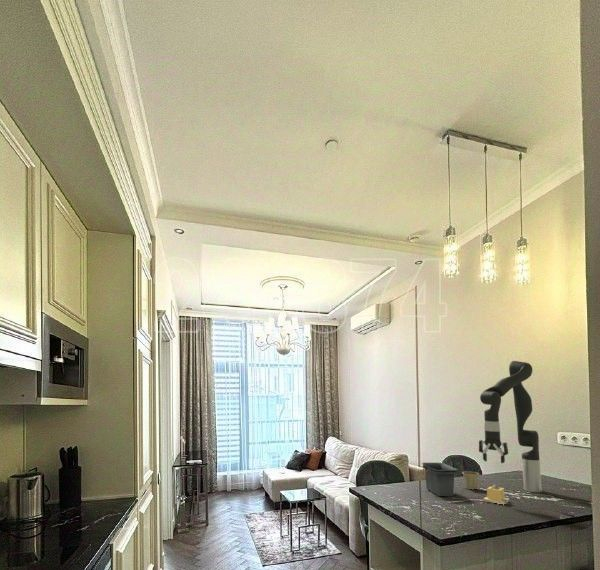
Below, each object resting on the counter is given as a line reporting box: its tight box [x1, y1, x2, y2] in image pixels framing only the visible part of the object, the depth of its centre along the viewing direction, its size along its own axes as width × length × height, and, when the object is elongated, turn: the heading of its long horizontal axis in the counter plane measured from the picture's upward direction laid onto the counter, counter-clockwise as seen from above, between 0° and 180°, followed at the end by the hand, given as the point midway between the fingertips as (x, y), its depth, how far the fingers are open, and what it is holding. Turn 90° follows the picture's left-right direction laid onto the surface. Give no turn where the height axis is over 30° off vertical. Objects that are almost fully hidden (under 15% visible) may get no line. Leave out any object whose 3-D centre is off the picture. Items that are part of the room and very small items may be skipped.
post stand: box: [482, 484, 510, 506], centre depth 249 cm, size 10×10×8 cm
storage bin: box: [421, 462, 458, 497], centre depth 266 cm, size 21×16×14 cm
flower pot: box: [462, 471, 480, 491], centre depth 277 cm, size 9×9×9 cm
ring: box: [486, 485, 506, 501], centre depth 249 cm, size 7×7×5 cm
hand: (493, 462), depth 252 cm, fingers open, 8 cm apart
